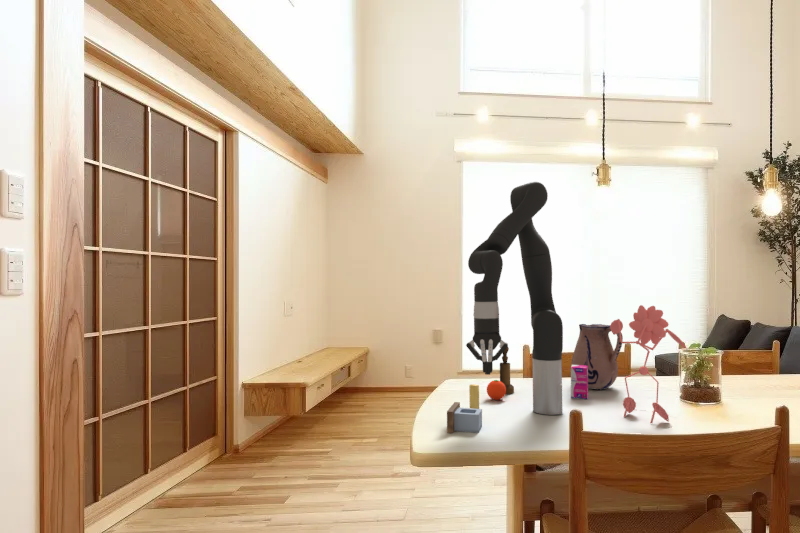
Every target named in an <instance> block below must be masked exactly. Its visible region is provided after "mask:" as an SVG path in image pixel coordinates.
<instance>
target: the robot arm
mask: <svg viewBox="0 0 800 533" xmlns="http://www.w3.org/2000/svg"><path fill="white" fill-rule="evenodd" d="M509 197H510V200H509V201H510V207H511V211H512V212H511V213H509V214H508V215H506V217H505V218H503V219H502V220H501V221H500V222H499V223H498V224H497V225H496V226H495V228H494V229H493V230H492V232H491V233H490V235H489V236H488V238H487V239H485V240H484V241H483V242H481V244H479V245H478V246H477V247H476V248H475V249H474V250H473V251H472V252H471V254H470V256H469V258H468V260H467V261H468V262H467V264H468V268H469V271H470V272H471V273H473V274H476V275H484V276H483V278H482V279H483V280H481V281H479V282H476V283H475V284H474V288H473V297H474V298H473V300H474V302H473V303H474V305H473V335H472V339H471V340H470V341H469V342H467V343H466V344H465V346H466V348H467V349H468V350H469V351H470V353H471V354H472V355H473V356H474V358H475V359H476V360H477V361H481V362H482V372H483V373H484V374H485V375H486V376H487V375H488V376H489V375H491V373H493V371H494V370H493V362H494V361H497V360H498V359H499V358H500V357H501V355H503V352H504V350H505V349H506V348H507V347H508V348H509V343H508V342H505V341H504V340H502V336H501V335H500V308H499V297H498V296H499V295H498V291H499V290H498V289H499V288H498V287H499V284H500V280H501V276H502V271H503V265H504V263H503V262H504V261H503V258H502V255H504V254H505V253H506V252H508V250H509V248H510V246H512V244H513V242H514V241H515V239H516V238H517V236H518V240H519V241H518V242H519V246H520V254H521V261H522V262H521V263H522V268H523V274H524V277H525V283H526V288H527V291H528V295H529V300H530V302H529V303H530V324H531V328H532V334H533V335H532V340H533V342H532V343H533V344H532V410H533V412H534V413H537V414H540V415H545V416H546V415H548V416H549V415H550V416H553V415H563V372H562V371H563V369H562V368H563V366H562V364H563V363H562V360H563V359H562V358H563V357H562V354H563V346H564V344H563V343H564V337H563V335H564V328H563V326H564V325H563V321H562V320H563V319H562V318H561V316H560V315H559V314H558V313H557V311H556V308H555V304H554V300H553V299H554V298H553V293H552V289H553V288H552V286H553V265H552V258H551V254H550V253H551V252H550V248H549V246H548V245H547V243H546V241H545V240H544V239H543V237H542V235H540V234H539V232H538V231H537V230H536V227H535V225H534V222H533V217H535V215H537V213H538V212H540V210H542V208H544V206H545V205H546V203H547V201H548V197H549V196H548V190H547V188H546V186H545V185H544V184H543V183H541V182H539V181H531V182H528V183H524V184H522V185H519V186H516V187H514V188H513V189H512V190H511V192H510V196H509ZM476 346H477V348H478V349H479V350H480V351H481V354H480V353H479V351H477V349H476V348H475V347H476ZM497 346H499V350H498V351H497V352H496V353H495V355H494V354H493V353H494V350H496V349H497ZM487 353H488V354H487ZM487 355H488V356H487Z"/></svg>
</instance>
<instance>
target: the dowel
mask: <svg viewBox="0 0 800 533" xmlns="http://www.w3.org/2000/svg"><path fill="white" fill-rule="evenodd" d="M469 408H473V409H480V385H479V384H476V383H475V384H469Z"/></svg>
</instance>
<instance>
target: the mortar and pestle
mask: <svg viewBox="0 0 800 533" xmlns="http://www.w3.org/2000/svg"><path fill="white" fill-rule="evenodd" d="M509 350H510V349H509V346H508V347H507V348H506V349H505V350H504V352H503V353H502V357H501V359H502V362H500V363H499V381H501V382H502V383H503V384H504V385H505V387H506V394H505V395H507V394H509V395H510V394H514V393H515V387H514V386H513V384H512V383H511V363H510V362H508V360H509V357H508V352H509Z"/></svg>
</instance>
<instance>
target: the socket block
mask: <svg viewBox="0 0 800 533" xmlns="http://www.w3.org/2000/svg"><path fill="white" fill-rule="evenodd" d="M482 427H483V409H482V408H479V409H473V408H470V407H460V408H458V409H457V410H456V411H455V413H454V432H466V433H478V434H479V433H480V431H481V430H482Z"/></svg>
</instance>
